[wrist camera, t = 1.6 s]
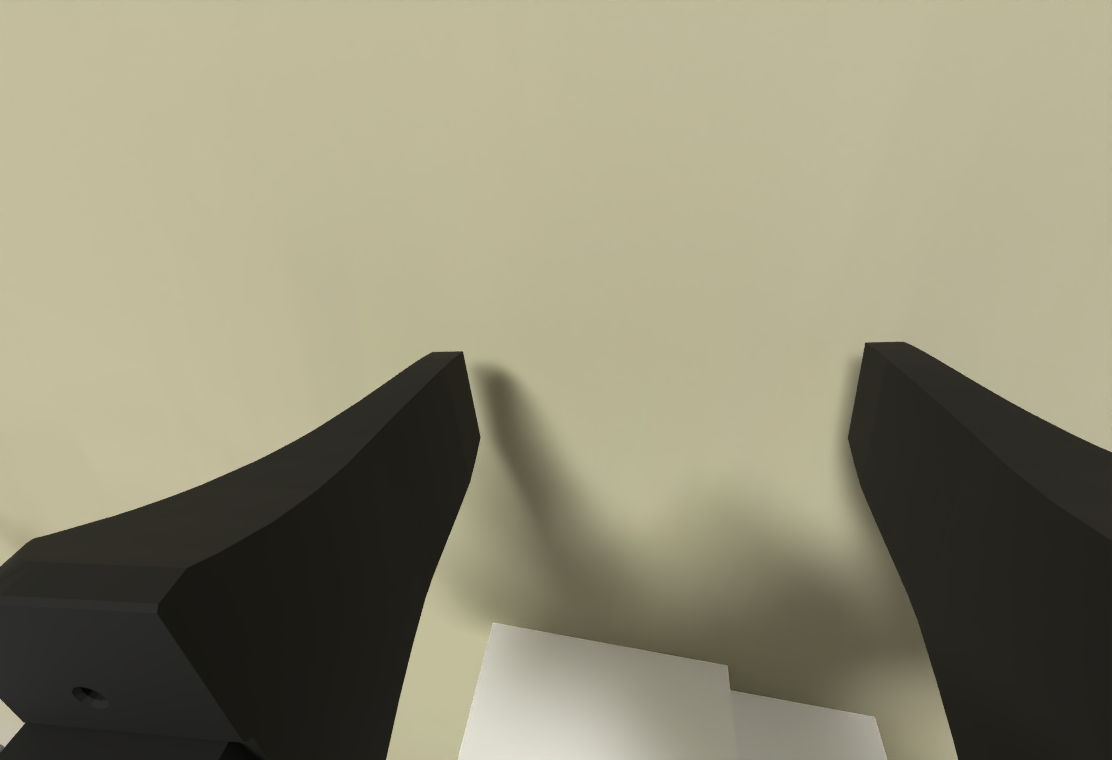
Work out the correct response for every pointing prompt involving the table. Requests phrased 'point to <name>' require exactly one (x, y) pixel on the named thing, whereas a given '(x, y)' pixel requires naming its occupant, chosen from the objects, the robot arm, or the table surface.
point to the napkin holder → (639, 708)
